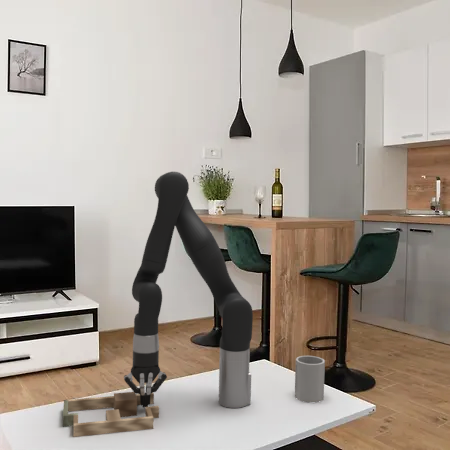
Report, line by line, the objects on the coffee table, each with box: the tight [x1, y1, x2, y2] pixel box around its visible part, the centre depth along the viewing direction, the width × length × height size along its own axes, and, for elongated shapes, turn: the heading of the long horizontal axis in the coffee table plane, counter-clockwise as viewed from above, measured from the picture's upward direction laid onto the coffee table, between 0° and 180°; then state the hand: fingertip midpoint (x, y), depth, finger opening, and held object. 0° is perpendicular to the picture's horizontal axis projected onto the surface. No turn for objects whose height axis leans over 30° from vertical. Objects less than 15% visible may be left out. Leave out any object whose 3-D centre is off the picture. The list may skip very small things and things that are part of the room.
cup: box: [294, 355, 326, 403], centre depth 167 cm, size 9×9×12 cm
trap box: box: [62, 392, 160, 438], centre depth 148 cm, size 26×18×3 cm
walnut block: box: [113, 391, 138, 419], centre depth 153 cm, size 6×6×5 cm
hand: (144, 406), depth 154 cm, fingers closed
